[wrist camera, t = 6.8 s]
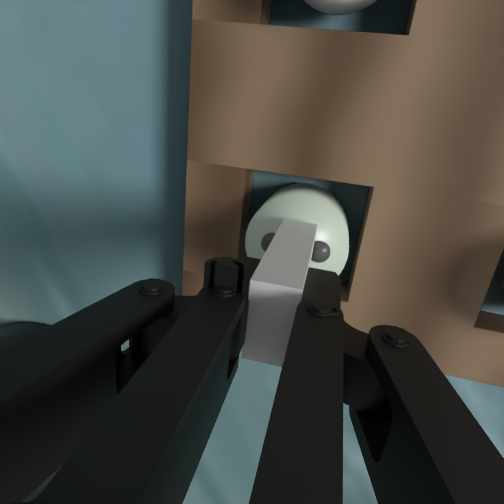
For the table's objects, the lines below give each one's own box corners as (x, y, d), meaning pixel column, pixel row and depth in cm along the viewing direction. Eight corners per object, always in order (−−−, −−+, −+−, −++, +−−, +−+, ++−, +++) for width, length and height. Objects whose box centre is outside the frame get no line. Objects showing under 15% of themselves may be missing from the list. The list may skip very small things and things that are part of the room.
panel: (193, 300, 24) (181, 316, 22) (220, -236, 15) (203, -286, 13) (626, 391, 20) (655, 420, 18) (1035, -274, 10) (1181, -355, 9)
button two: (253, 260, 21) (239, 284, 18) (263, 177, 19) (249, 188, 17) (338, 276, 20) (338, 304, 18) (356, 190, 19) (359, 205, 16)
